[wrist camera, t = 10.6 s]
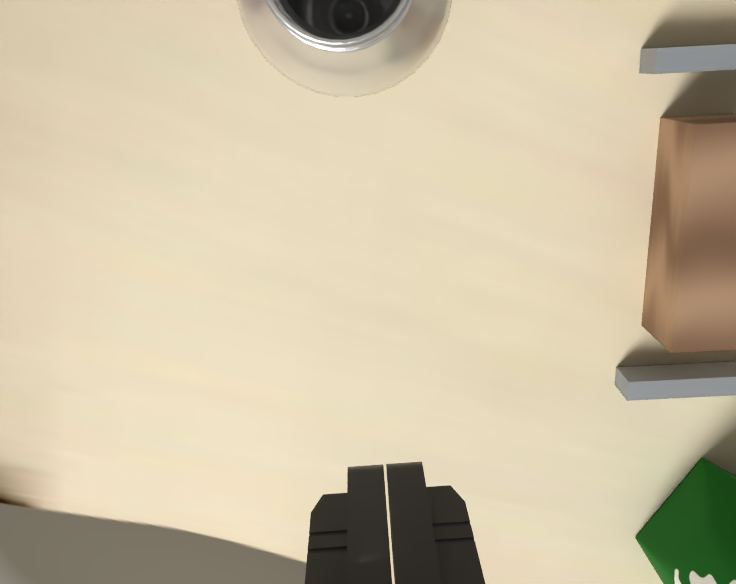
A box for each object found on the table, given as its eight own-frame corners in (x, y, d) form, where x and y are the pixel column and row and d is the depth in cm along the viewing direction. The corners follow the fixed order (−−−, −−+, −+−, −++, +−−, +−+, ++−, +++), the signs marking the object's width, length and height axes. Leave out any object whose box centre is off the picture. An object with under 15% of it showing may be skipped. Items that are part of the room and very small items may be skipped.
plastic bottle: (300, -73, 33) (217, -256, 14) (432, -30, 33) (525, -148, 14) (269, 61, 35) (159, 62, 16) (394, 99, 35) (432, 144, 16)
